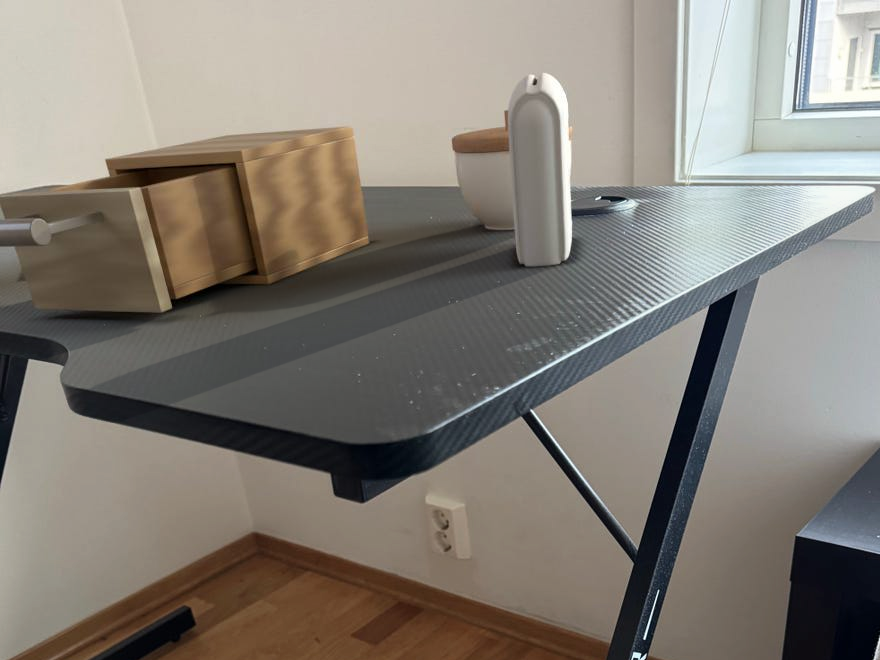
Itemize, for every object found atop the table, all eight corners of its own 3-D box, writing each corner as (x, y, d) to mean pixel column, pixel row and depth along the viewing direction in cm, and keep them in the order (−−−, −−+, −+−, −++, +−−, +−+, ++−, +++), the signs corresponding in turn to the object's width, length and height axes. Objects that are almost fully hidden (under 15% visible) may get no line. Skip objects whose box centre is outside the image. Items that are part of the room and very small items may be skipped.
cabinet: (269, 286, 73) (241, 150, 68) (139, 285, 79) (104, 159, 73) (369, 245, 85) (352, 126, 79) (250, 246, 90) (227, 135, 85)
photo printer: (522, 244, 78) (512, 73, 71) (573, 240, 77) (568, 67, 71) (513, 271, 69) (500, 79, 63) (570, 267, 69) (563, 73, 62)
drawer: (95, 338, 60) (54, 207, 55) (-35, 333, 65) (-82, 212, 60) (282, 265, 75) (261, 158, 71) (165, 266, 80) (139, 165, 76)
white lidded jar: (473, 218, 92) (464, 110, 87) (581, 211, 89) (578, 100, 84) (448, 240, 83) (436, 121, 78) (567, 232, 81) (562, 109, 76)
